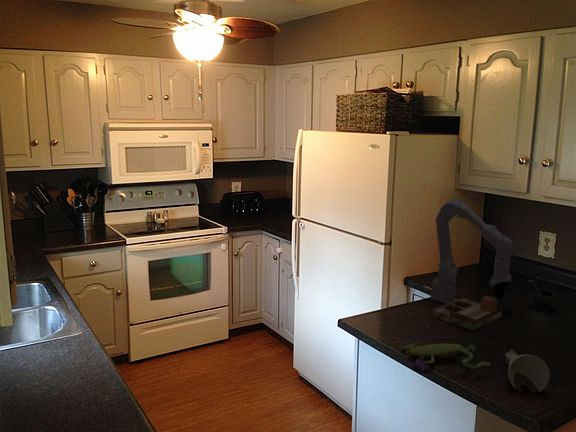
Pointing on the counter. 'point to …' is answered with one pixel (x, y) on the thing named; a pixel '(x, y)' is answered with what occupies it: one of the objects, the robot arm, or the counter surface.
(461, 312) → the trap board
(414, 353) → the figurine
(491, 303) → the block
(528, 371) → the rocket engine
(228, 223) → the counter surface
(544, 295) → the mortar and pestle
